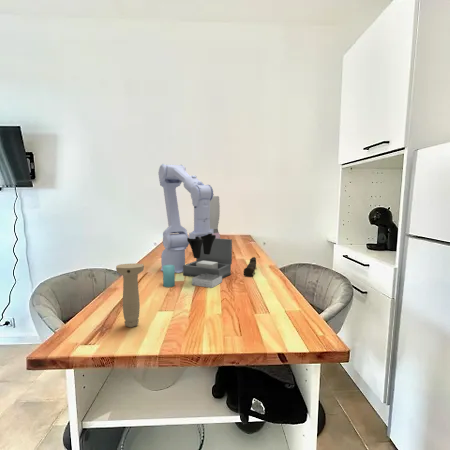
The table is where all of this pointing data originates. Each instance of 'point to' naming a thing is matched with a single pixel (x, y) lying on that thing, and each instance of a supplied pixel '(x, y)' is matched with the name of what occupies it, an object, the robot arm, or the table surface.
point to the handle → (130, 292)
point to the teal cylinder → (168, 275)
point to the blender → (215, 215)
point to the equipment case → (212, 260)
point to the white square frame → (207, 280)
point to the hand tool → (250, 268)
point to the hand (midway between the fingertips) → (202, 256)
